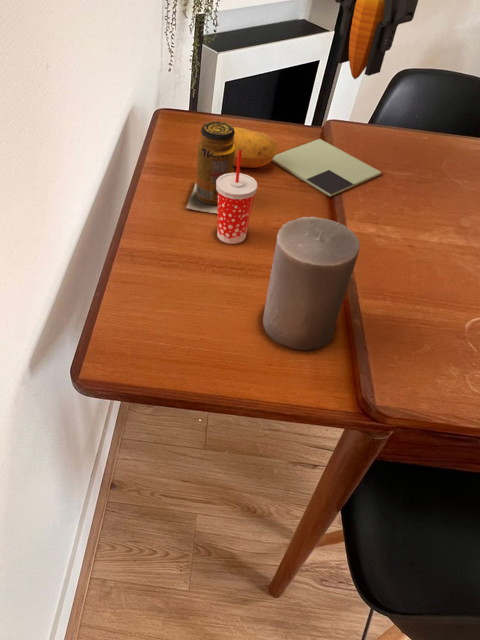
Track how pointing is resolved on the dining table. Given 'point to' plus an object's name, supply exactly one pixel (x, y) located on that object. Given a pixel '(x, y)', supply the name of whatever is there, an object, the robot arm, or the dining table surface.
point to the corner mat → (325, 167)
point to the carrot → (363, 33)
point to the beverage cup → (234, 204)
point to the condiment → (212, 164)
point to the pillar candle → (309, 281)
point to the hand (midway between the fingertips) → (357, 66)
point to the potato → (253, 148)
